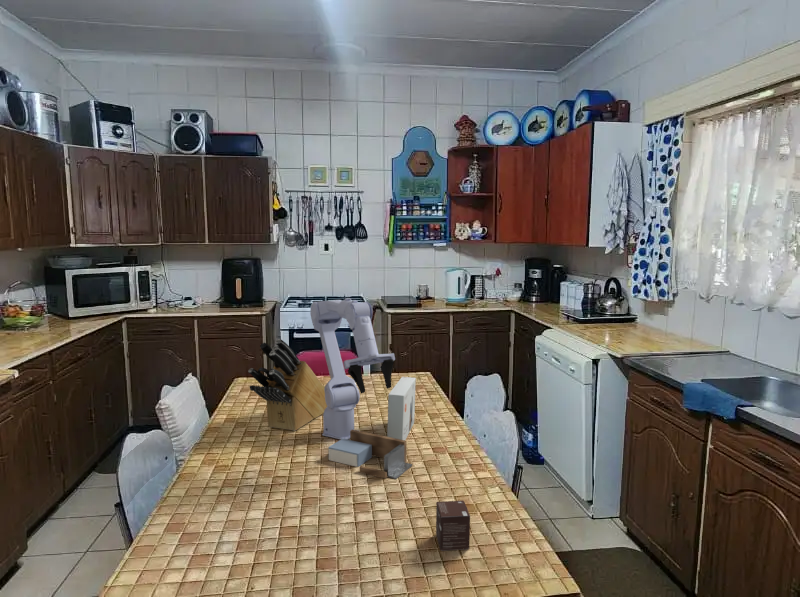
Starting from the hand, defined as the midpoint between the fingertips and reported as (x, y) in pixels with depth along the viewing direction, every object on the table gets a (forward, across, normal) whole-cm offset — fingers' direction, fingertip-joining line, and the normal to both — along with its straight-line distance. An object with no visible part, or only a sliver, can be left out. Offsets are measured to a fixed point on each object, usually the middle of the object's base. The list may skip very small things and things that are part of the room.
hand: (376, 390), depth 138 cm
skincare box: (+11, +15, +26) cm, 32 cm away
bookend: (+22, +3, +4) cm, 22 cm away
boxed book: (+16, -6, +16) cm, 23 cm away
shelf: (+18, -3, +11) cm, 21 cm away
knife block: (-2, -14, +47) cm, 49 cm away
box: (+38, -1, -26) cm, 46 cm away
